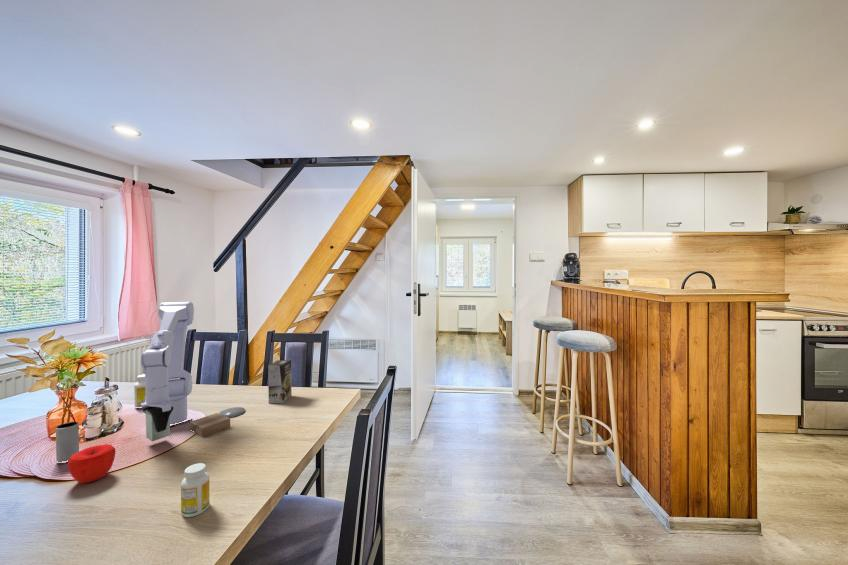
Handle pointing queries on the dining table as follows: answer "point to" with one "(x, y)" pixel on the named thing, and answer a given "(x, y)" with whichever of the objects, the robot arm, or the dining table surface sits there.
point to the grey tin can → (67, 441)
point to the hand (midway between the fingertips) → (158, 428)
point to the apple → (91, 463)
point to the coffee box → (279, 381)
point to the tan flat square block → (209, 424)
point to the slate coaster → (232, 412)
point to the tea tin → (154, 427)
